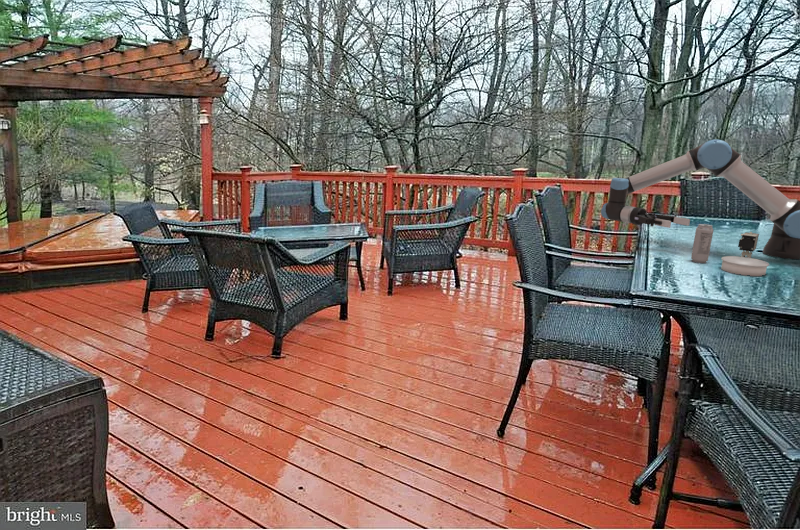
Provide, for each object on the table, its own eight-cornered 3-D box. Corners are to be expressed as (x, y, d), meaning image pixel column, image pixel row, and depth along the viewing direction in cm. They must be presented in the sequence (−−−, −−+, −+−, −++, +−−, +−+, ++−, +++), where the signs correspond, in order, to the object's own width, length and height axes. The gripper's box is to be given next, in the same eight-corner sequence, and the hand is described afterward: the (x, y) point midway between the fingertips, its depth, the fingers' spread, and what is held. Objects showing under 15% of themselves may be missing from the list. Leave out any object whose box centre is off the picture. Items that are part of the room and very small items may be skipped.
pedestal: (752, 267, 197) (754, 257, 196) (776, 277, 183) (778, 266, 182) (712, 265, 199) (714, 255, 198) (732, 275, 184) (734, 264, 183)
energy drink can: (703, 260, 207) (709, 224, 203) (710, 263, 201) (717, 226, 197) (687, 259, 207) (694, 223, 203) (694, 263, 201) (701, 226, 198)
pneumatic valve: (754, 258, 211) (760, 230, 208) (750, 263, 203) (756, 234, 200) (738, 256, 215) (744, 228, 212) (734, 261, 206) (739, 232, 203)
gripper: (649, 222, 234) (695, 230, 216) (615, 225, 221) (660, 234, 204) (652, 205, 232) (698, 212, 214) (617, 208, 219) (663, 216, 202)
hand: (679, 223), depth 209 cm, fingers open, 13 cm apart
